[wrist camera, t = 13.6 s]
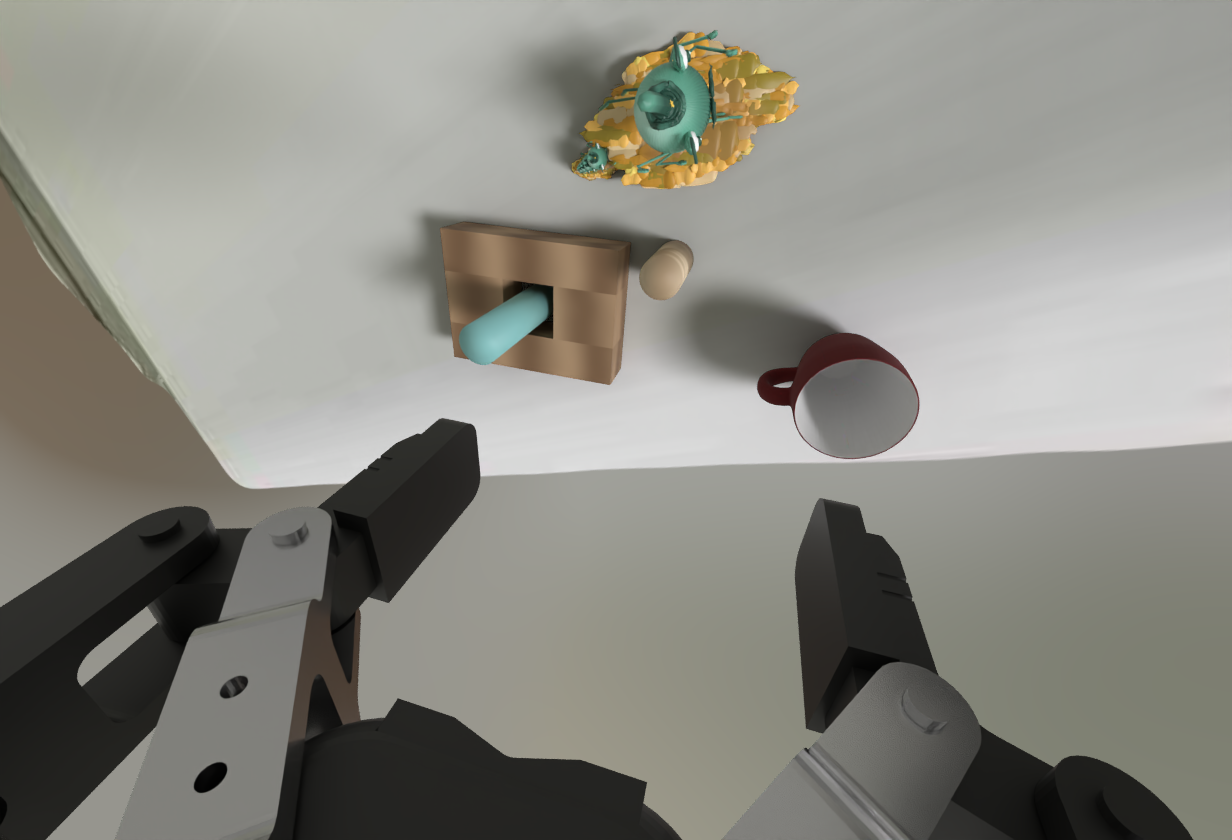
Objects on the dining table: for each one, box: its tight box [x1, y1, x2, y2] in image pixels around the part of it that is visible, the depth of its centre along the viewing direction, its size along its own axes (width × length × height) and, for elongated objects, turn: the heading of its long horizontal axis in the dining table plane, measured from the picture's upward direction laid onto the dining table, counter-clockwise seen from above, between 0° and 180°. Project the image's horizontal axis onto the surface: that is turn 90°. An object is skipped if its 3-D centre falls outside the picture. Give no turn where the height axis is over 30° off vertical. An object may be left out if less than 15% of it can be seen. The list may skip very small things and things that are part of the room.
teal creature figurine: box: [572, 30, 801, 189], centre depth 31 cm, size 10×18×15 cm, turn 99°
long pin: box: [459, 284, 553, 365], centre depth 41 cm, size 3×3×13 cm
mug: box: [757, 333, 919, 459], centre depth 38 cm, size 10×8×10 cm
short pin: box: [639, 240, 694, 300], centre depth 39 cm, size 3×3×7 cm
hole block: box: [440, 222, 631, 385], centre depth 45 cm, size 16×12×4 cm
